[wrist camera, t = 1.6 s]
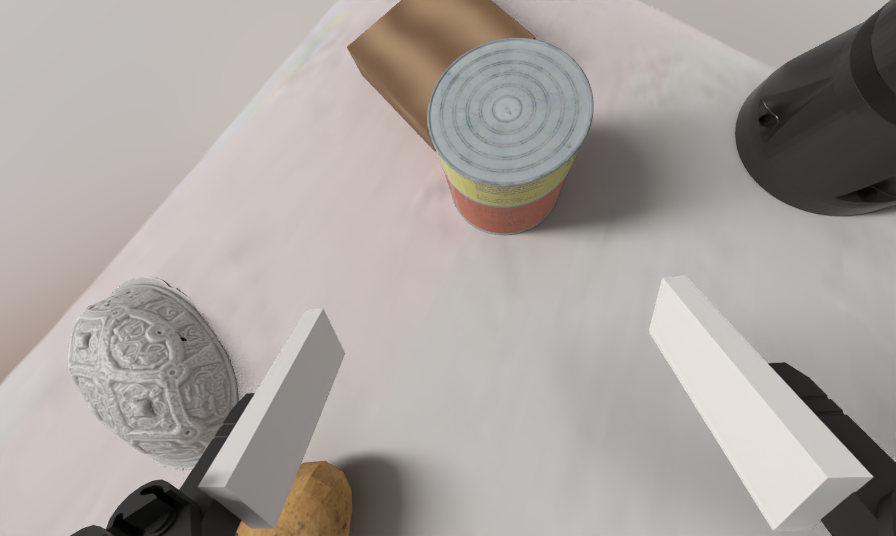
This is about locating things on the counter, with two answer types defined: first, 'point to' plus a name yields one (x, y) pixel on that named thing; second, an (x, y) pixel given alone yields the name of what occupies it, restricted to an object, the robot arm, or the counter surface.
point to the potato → (313, 505)
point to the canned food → (509, 130)
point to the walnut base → (425, 49)
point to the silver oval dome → (153, 371)
